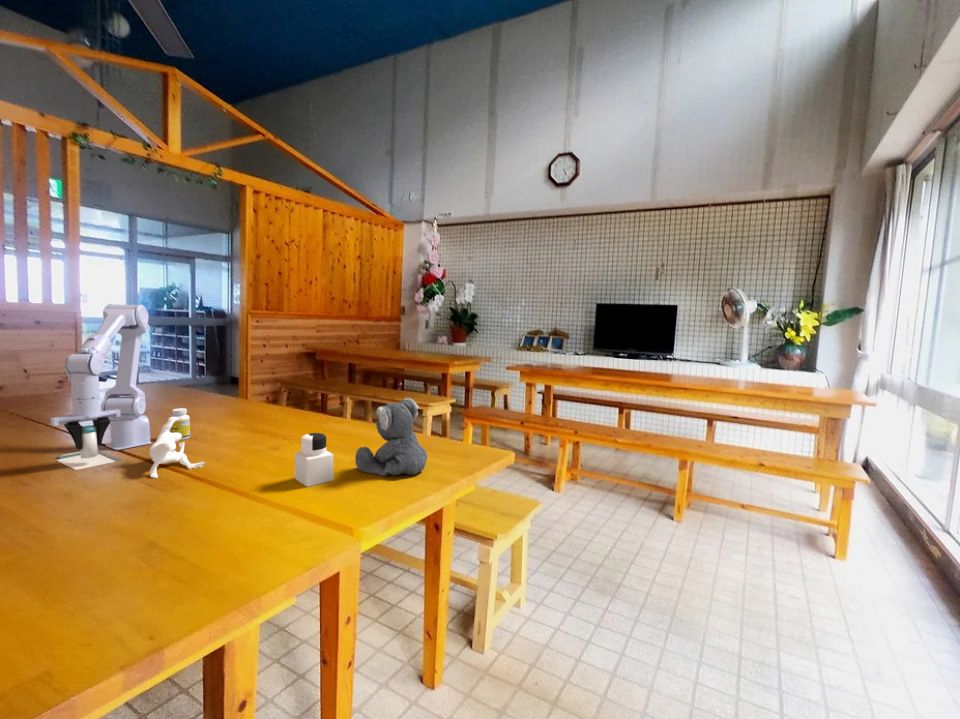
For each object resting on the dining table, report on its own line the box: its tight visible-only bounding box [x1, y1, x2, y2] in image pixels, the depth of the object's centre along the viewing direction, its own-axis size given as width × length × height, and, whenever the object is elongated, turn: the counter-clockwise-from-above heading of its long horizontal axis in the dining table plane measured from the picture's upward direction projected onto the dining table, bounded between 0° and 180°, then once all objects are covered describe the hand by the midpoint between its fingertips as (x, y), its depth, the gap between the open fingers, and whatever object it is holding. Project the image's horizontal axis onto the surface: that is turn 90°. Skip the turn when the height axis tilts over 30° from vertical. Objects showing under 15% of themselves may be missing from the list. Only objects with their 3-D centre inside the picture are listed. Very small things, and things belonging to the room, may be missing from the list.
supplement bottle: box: [170, 407, 191, 441], centre depth 153 cm, size 5×5×10 cm
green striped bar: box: [56, 451, 81, 459], centre depth 134 cm, size 8×2×1 cm, turn 148°
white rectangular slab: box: [56, 450, 122, 471], centre depth 129 cm, size 10×14×1 cm
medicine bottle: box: [294, 432, 334, 488], centre depth 118 cm, size 7×7×12 cm
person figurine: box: [148, 416, 205, 479], centre depth 126 cm, size 13×13×18 cm
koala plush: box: [355, 397, 428, 477], centre depth 128 cm, size 17×18×20 cm
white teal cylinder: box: [79, 424, 99, 458], centre depth 126 cm, size 4×4×8 cm
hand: (88, 447), depth 126 cm, fingers closed on white teal cylinder, 4 cm apart
